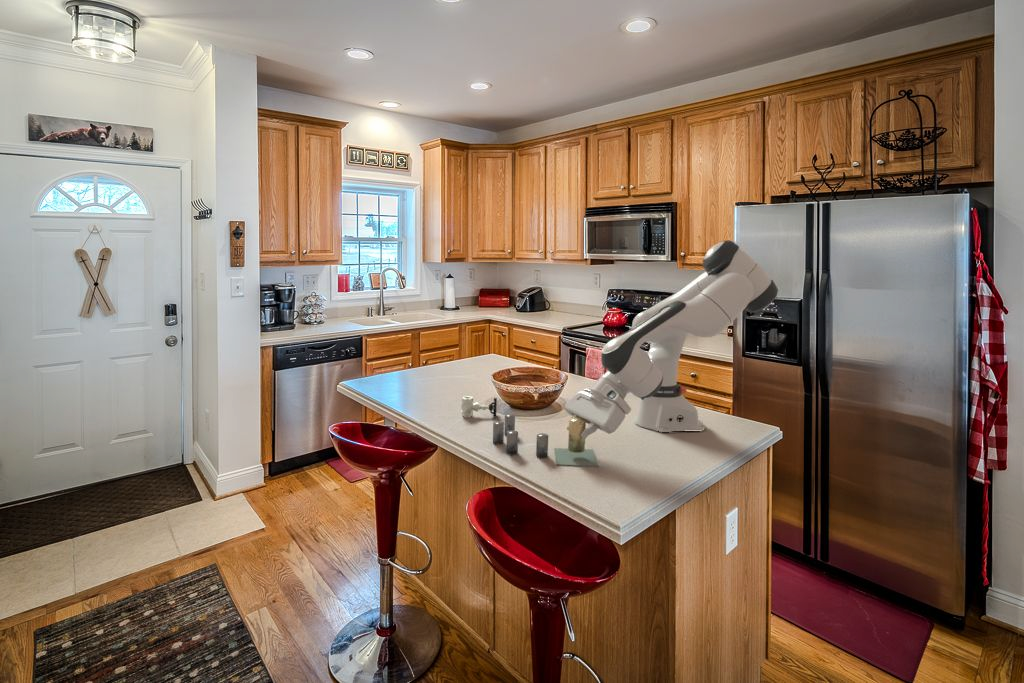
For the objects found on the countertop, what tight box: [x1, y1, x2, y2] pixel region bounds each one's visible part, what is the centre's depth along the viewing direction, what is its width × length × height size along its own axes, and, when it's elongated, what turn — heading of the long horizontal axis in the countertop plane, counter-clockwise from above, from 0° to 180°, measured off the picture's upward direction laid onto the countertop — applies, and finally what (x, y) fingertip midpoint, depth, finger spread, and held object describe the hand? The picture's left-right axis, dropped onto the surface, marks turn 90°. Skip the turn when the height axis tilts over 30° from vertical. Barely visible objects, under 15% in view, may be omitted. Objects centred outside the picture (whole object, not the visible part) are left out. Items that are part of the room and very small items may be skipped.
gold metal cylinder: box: [567, 417, 587, 453], centre depth 146 cm, size 4×4×8 cm
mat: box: [553, 447, 599, 468], centre depth 148 cm, size 11×12×1 cm
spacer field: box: [492, 413, 549, 459], centre depth 155 cm, size 10×23×6 cm, turn 27°
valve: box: [460, 395, 498, 418], centre depth 183 cm, size 7×7×12 cm
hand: (575, 434), depth 146 cm, fingers closed on gold metal cylinder, 4 cm apart
